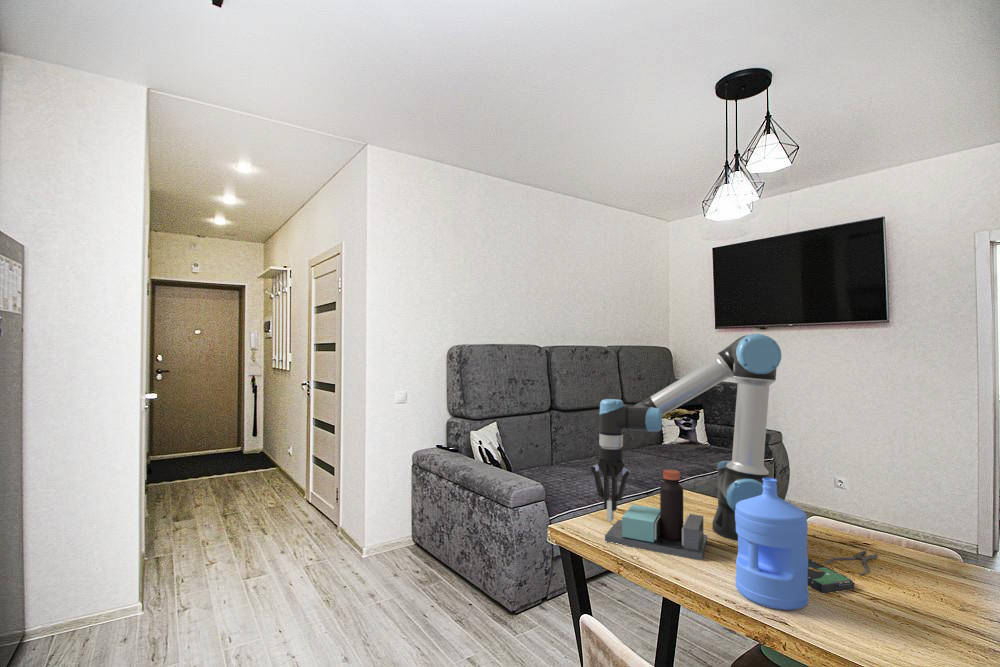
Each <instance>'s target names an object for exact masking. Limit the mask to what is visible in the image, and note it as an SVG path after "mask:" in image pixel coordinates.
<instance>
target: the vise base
mask: <svg viewBox="0 0 1000 667" xmlns="http://www.w3.org/2000/svg"><path fill="white" fill-rule="evenodd" d="M605 541H607V542H606V543H608V542H613V543H618V544H622V545H621V546H623V545H627V546H626V547H628V546H631V547H630V548H634V547H635V549H639V548H640V549H639V550H644V549H645V551H649V550H650V552H655V553H660V554H661V553H662V554H666V555H671V556H676V557H682V558H687V559H692V560H697V561H703V557H704V555H705V551H706V548H707V543H708V534H704V515H700V514H693V513H689V514H688V515H687V516H686V518H685V520H684V521H683V527H682V539H680V540H670V539H666V538H664V537H662V536H661V534H659V536H658V538H657V540H655V541H654V543H653V542H648V541H643V540H637V539H632V538H626V537H622V519H621V520H620V519H618V520H616V521H615V523H614V524H613V525H612V527H611V528H610V529H609V530H608V531H607V532H606V534H604V542H605ZM613 543H612V544H613ZM618 544H617V545H618Z"/></svg>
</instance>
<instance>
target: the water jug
mask: <svg viewBox="0 0 1000 667" xmlns="http://www.w3.org/2000/svg"><path fill="white" fill-rule="evenodd" d="M762 480H763V485H762V487H763V493H762V495H760V496H756V497H752V498H749V499H745V500H742V501H739V502H738V503H737V504H736V510H735V522H736V533H737V534H738V540H737V557H736V559H735V588H736V589H737V591H738V592H739V593H740V594H741V595H742V596H743V597H744V598H745V599H747V600H749V601H751V602H753V603H755V604H757V605H761V606H763V607H765V608H769V609H770V608H771V609H775V610H781V611H783V610H784V611H795V610H799V609H803V608H804V607H806V606H807V605H808V603H809V599H810V598H809V590H808V589H809V586H808V570H807V569H808V559H809V556H808V532H809V531H808V529H809V528H808V525H809V524H808V520H807V519H808V516H807V513H806V512H805V511H804V510H803V509H802V508H800V507H798V506H795V505H794V504H792V503H791V502H789V501H787V500H785V499H783V498H781V497H779V496H778V486H777V482H778V479H776V478H773V477H768V478H762Z"/></svg>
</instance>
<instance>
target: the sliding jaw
mask: <svg viewBox="0 0 1000 667" xmlns="http://www.w3.org/2000/svg"><path fill="white" fill-rule="evenodd" d="M621 521H622V537H626V538H632V539H637V540H643V541H648V542H653V543H654V541H655V540H657V538H658V536H659V534H660V507H659V508H657V507H652V506H645V505H638V504H632V505H631V506H630V507H629V508H628V509H627V510H626V511H625V513H624V514H623V515H622V517H621Z"/></svg>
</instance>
